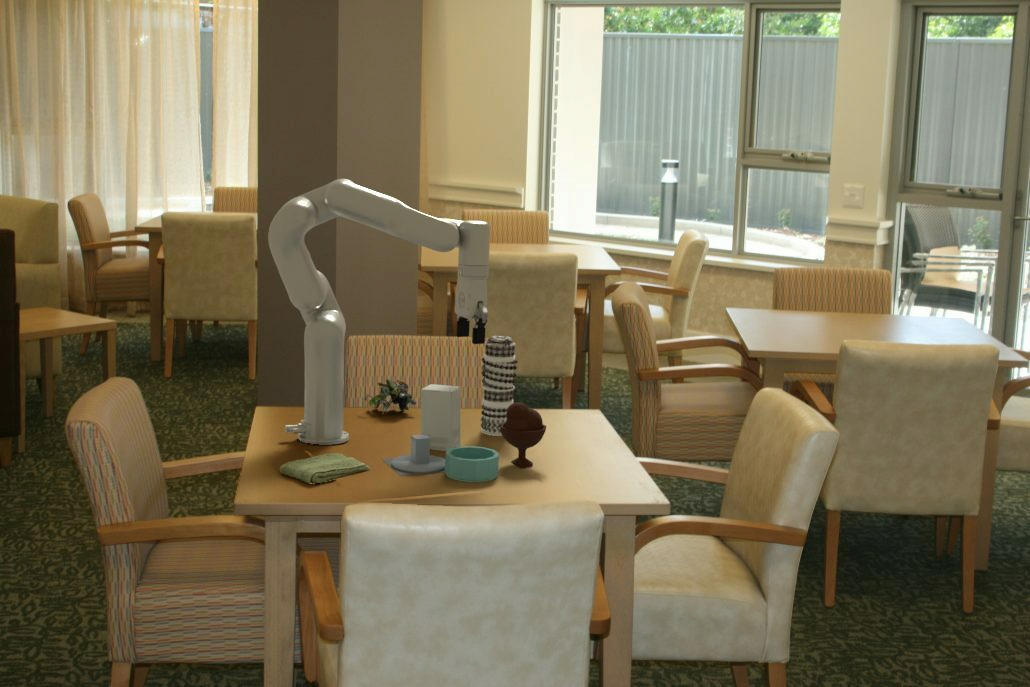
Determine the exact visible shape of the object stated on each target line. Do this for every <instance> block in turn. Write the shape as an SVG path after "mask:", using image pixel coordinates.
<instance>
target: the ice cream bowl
mask: <svg viewBox="0 0 1030 687" xmlns="http://www.w3.org/2000/svg"><path fill="white" fill-rule="evenodd" d="M506 418H507V421H506V422H503V423H502V424H501V425H500V431H501V434H502V436H501V437H502V438H503V439H504V440H505V441H506V442H507V443H508V444H509V445H511V446H513V447H514V448H516V449H517V451H518V452H517V453H518V455H517V457H516V458H515V459H512V460H511V461H510V463H511V464H512V465H513V466H515V467H517V468H518V469H529V468H532V467H533V466H534V462H532V461H531V460H530V459H528V458H527V455H526V454H527V449H530V448H533V447H534V446H536V445H537V444H539V443H540V442H541V440H543V437H544V435H545V434H546V429H547V425H545V424H544V423H543V418H542V415H541V414H540V413H539V411H538V410H535V409H534V408H531V407H529V406H528V404H526V403H523V402H521V401H519V402H518V401H515V402H513V404H511V405H510V406H509V407H508V409H507V413H506Z"/></svg>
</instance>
